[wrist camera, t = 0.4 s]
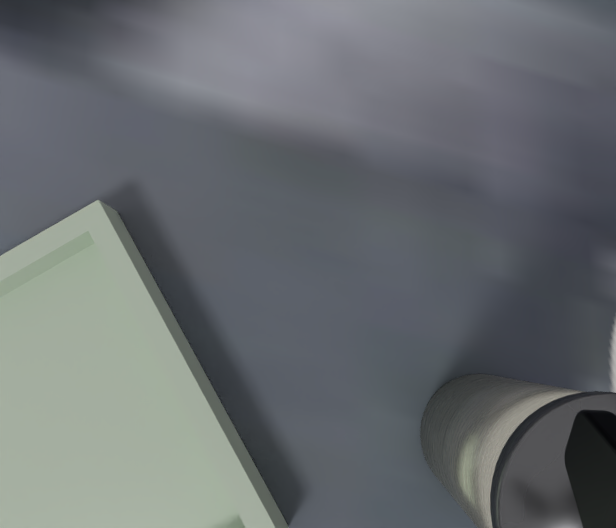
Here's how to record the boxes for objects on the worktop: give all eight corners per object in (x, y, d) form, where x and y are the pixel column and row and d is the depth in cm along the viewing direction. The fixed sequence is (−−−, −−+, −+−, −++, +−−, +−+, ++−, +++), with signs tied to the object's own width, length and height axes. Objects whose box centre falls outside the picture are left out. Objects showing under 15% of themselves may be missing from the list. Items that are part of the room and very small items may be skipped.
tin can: (572, 459, 22) (809, 571, 11) (463, 528, 22) (597, 711, 11) (499, 348, 23) (653, 349, 12) (393, 412, 22) (453, 473, 12)
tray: (288, 526, 22) (284, 544, 20) (-49, 734, 21) (-88, 773, 19) (116, 211, 24) (98, 199, 22) (-190, 388, 24) (-238, 392, 22)
